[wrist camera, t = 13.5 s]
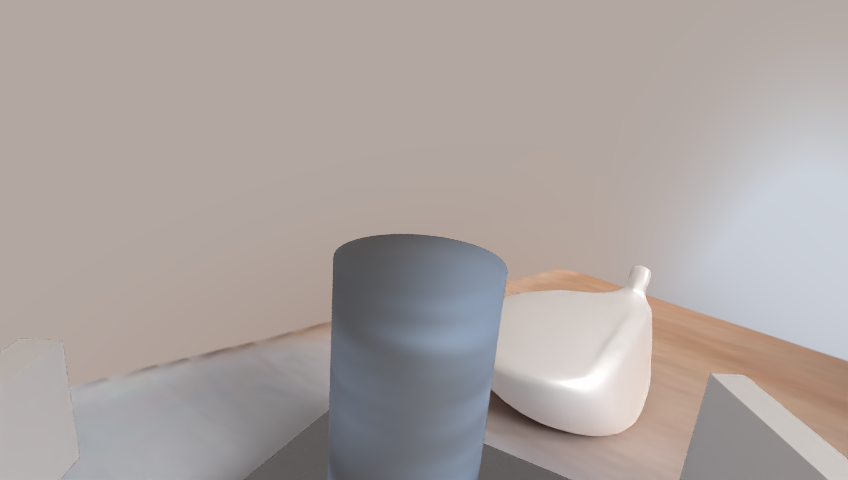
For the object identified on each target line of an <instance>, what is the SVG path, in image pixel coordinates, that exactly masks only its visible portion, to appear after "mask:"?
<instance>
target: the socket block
mask: <svg viewBox="0 0 848 480" xmlns="http://www.w3.org/2000/svg"><path fill="white" fill-rule="evenodd" d="M328 442H329V411H328V412H326V413H325V414H324V415H323V416H321V417H320V418H319V419H318V420H317V421H315V422H314V423H313V424H312V425H310V426H309V427H308V428H307V429H305V430H304V431H303V432H302V433H301V434H299V435H298V436H297V437H296V438H294V439H293V440H292V441H291V442H289V443H288V444H287V445H286V446H285V447H283V448H282V449H281V450H280V451H278V452H277V453H276V454H275V455H274V456H272V457H271V458H270V459H269V460H267V461H266V462H265V463H264V464H262V465H261V466H260V467H259V468H258V469H256V470H255V471H254V472H253V473H251V474H250V475H249V476H248V477H246V478H245V479H244V480H327V478H328ZM478 480H570V479H568V478H565V477H563V476H561V475H558V474H556V473H553V472H551V471H549V470H546V469H544V468H541V467H539V466H537V465H534V464H532V463H529V462H527V461H525V460H522V459H520V458H517V457H515V456H513V455H510V454H508V453H505V452H503V451H501V450H498V449H496V448H493V447H491V446H489V445H486V444H484V443H483V449H482V456H481V464H480V471H479V478H478Z"/></svg>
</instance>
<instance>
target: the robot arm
mask: <svg viewBox="0 0 848 480" xmlns="http://www.w3.org/2000/svg"><path fill="white" fill-rule="evenodd" d="M79 458H80V453H79V447H78V440H77V433H76V427H75V420H74V413H73V407H72V400H71V393H70V387H69V380H68V373H67V367H66V360H65V354H64V347H63V341H62V340H49V339H28V338H21V339H19V340H17V341H16V342H14V343H13V344H11V345H9V346H8V347H6V348H5V349H3V350H2V351H0V480H60V479H61V478H62V477H63V476H64V475H65V474H66V473H67V471H68V470H69V469H70V468H71V467H72V466H73V465H74V464H75V463H76V461H77V460H78V459H79ZM680 480H848V459H847V458H846V457H845V456H843V455H842V454H841V453H840V452H839V451H837V450H836V449H835V448H834V447H832V446H831V445H830V444H829V443H828V442H826V441H825V440H824V439H823V438H821V437H820V436H819V435H818V434H817V433H815V432H814V431H813V430H812V429H810V428H809V427H808V426H807V425H805V424H804V423H803V422H802V421H801V420H799V419H798V418H797V417H796V416H794V415H793V414H792V413H791V412H790V411H788V410H787V409H786V408H785V407H783V406H782V405H781V404H780V403H779V402H777V401H776V400H775V399H774V398H772V397H771V396H770V395H769V394H767V393H766V392H765V391H764V390H763V389H761V388H760V387H759V386H758V385H756V384H755V383H754V382H753V381H752V380H750V379H749V378H748V377H747V376H745V375H734V374H715V373H710V376H709V379H708V383H707V386H706V390H705V393H704V397H703V400H702V404H701V407H700V411H699V414H698V418H697V421H696V425H695V428H694V432H693V435H692V438H691V442H690V445H689V449H688V452H687V456H686V459H685V463H684V466H683V470H682V473H681V477H680Z"/></svg>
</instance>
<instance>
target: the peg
mask: <svg viewBox="0 0 848 480" xmlns="http://www.w3.org/2000/svg"><path fill="white" fill-rule="evenodd" d="M506 277H507V266H506V264H505V263H504V262H503V260H502V259H500V258H499V257H498V256H497V255H495V254H493V253H492V252H490V251H488V250H486V249H483V248H481V247H478V246H476V245H473V244H469V243H466V242H462V241H458V240H454V239H449V238H443V237H435V236H427V235H415V234H414V235H413V234H390V235H378V236H370V237H365V238H360V239H356V240H353V241H350V242H348V243H346V244H344V245H342V246H341V247H339V248H338V249H337V250H336V252H335V253H334V258H333V294H332V295H333V296H332V331H331V368H330V405H329V442H328V478H327V480H478V478H479V471H480V464H481V456H482V449H483V442H484V435H485V428H486V421H487V414H488V406H489V399H490V392H491V385H492V378H493V371H494V364H495V356H496V349H497V342H498V335H499V328H500V321H501V313H502V306H503V299H504V292H505V285H506Z"/></svg>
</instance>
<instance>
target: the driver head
mask: <svg viewBox="0 0 848 480" xmlns="http://www.w3.org/2000/svg"><path fill="white" fill-rule="evenodd" d="M650 278H651V271H650V270H649V269H648V268H646V267H643V266H638V265H637V266H633V267H632V270H631V273H630V276H629V279H628V281H627V284H626V286H625V287H623V288H621V289H619V290H617V291H612V292H602V293H589V292H579V291H569V290H550V291H532V292H525V293H518V294H514V295H509V296H506V297H504V299H503V306H502V313H501V321H500V328H499V335H498V342H497V349H496V356H495V364H494V371H493V378H492V385H491V390H492V391H493V392H495V393H496V394H497V395H498V396H499V397H500V398H501V399H503V400H504V401H505V402H506V403H507V404H509V405H511V406H512V407H513V408H515V409H516V410H517V411H519V412H520V413H522V414H524V415H525V416H527V417H529V418H532V419H533V420H535V421H537V422H539V423H542V424H544V425H547V426H550V427H553V428H556V429H559V430H563V431H567V432H570V433H575V434H580V435H587V436H608V435H614V434H617V433H620V432H622V431H624V430H626V429H627V428H629V427H630V426H631V425H633V424H634V423H635V422H636V421H637V419H638V417H639V416H640V414H641V412H642V409H643V406H644V404H645V401H646V397H647V394H648V391H649V386H650V380H651V354H652V311H651V308H650V306H649V305H648V302H647V299H646V296H645V291H646V288H647V286H648V284H649V281H650Z"/></svg>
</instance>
